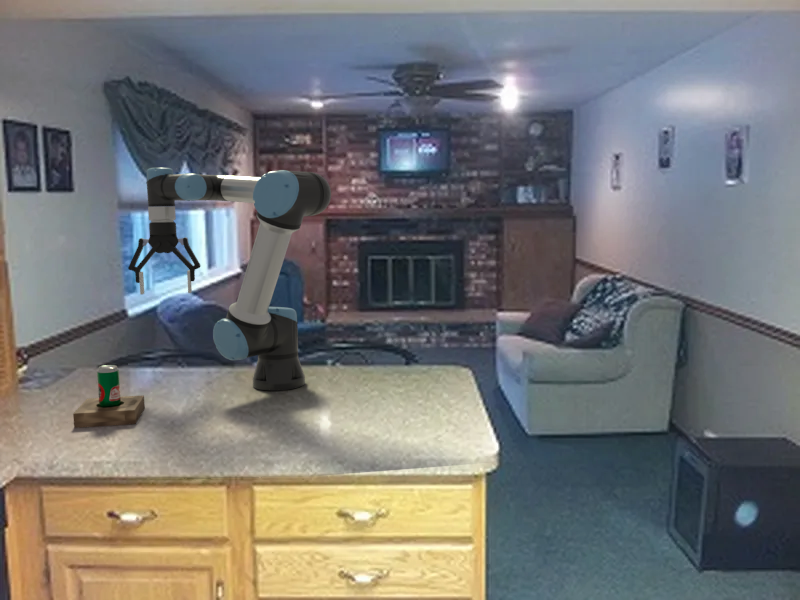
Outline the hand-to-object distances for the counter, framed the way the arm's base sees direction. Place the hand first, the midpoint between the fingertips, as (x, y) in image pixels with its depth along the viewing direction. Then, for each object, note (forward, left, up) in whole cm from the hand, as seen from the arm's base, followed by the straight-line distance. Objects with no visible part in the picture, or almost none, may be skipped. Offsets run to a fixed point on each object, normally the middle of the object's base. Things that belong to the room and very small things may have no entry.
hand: (166, 293), depth 218 cm
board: (+10, +37, -27) cm, 47 cm away
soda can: (+10, +37, -26) cm, 46 cm away
